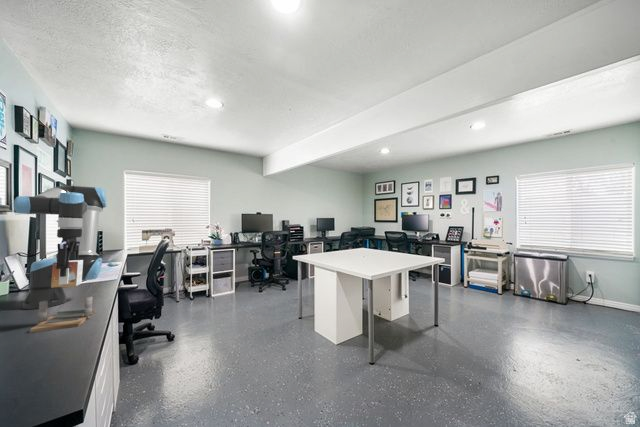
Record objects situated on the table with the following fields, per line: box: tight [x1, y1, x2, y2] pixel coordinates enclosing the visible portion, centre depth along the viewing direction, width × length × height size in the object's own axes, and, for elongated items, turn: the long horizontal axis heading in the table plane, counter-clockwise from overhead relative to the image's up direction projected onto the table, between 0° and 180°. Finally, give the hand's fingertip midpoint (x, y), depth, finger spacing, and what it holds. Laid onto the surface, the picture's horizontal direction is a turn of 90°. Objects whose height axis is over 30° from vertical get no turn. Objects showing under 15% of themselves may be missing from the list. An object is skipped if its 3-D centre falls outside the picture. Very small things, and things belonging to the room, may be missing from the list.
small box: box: [51, 260, 83, 288], centre depth 107 cm, size 8×6×10 cm
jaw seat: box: [29, 296, 96, 333], centre depth 106 cm, size 18×17×9 cm
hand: (67, 282), depth 106 cm, fingers closed on small box, 6 cm apart
